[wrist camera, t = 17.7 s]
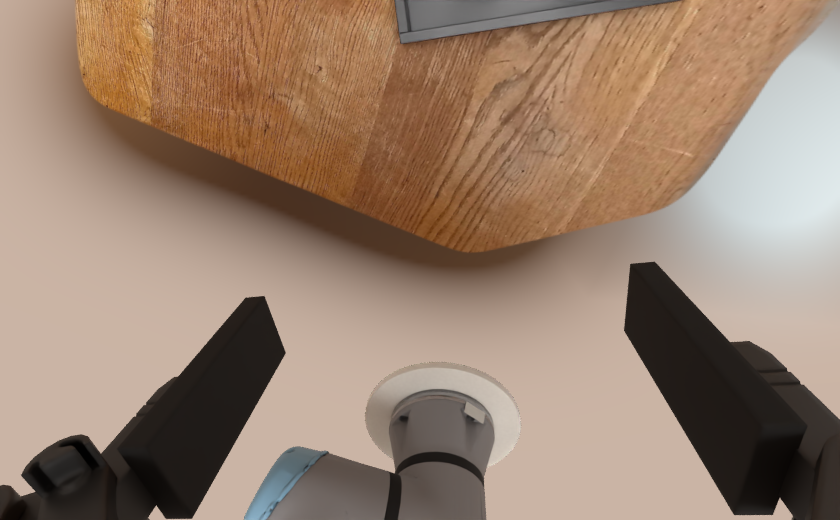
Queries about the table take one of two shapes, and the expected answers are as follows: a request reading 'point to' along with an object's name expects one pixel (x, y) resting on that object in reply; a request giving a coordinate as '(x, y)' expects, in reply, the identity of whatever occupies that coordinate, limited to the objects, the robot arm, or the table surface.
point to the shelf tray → (493, 14)
